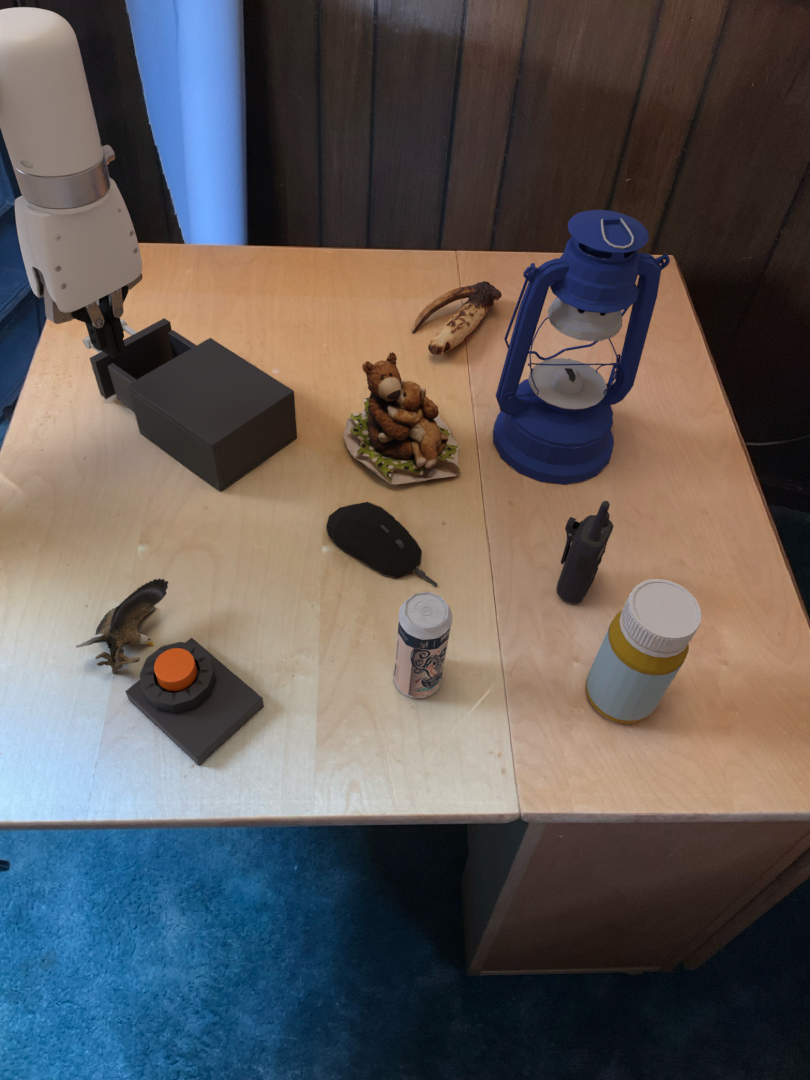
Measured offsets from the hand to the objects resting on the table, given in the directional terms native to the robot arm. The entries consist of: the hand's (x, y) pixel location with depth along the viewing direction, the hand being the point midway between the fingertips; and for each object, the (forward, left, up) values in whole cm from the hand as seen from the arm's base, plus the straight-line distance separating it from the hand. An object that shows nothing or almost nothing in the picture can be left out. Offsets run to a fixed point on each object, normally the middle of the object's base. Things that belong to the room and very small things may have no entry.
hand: (110, 349), depth 84 cm
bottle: (+60, +11, -16) cm, 63 cm away
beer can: (+44, -1, -16) cm, 47 cm away
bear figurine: (+22, +23, -16) cm, 36 cm away
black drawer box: (+4, +9, -16) cm, 18 cm away
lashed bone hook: (+11, +47, -16) cm, 51 cm away
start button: (+28, -17, -13) cm, 35 cm away
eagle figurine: (+20, -17, -16) cm, 31 cm away
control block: (+30, -17, -16) cm, 38 cm away
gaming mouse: (+31, +9, -16) cm, 36 cm away
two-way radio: (+49, +19, -16) cm, 55 cm away
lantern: (+35, +37, -16) cm, 53 cm away
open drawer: (-8, +9, -15) cm, 19 cm away
